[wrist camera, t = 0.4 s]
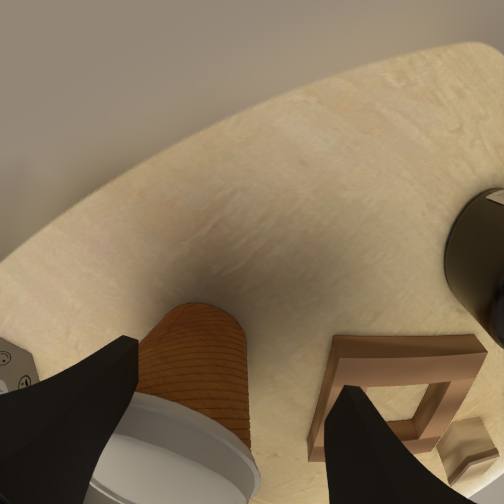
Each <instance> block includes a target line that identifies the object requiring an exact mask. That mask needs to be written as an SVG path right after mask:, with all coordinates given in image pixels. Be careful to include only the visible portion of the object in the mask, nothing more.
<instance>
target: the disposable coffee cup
mask: <svg viewBox="0 0 504 504" xmlns="http://www.w3.org/2000/svg"><path fill="white" fill-rule="evenodd" d="M246 350H247V342H246V338H245V334H244V332H243V330H242V328H241V327H240V325H239V324H238V323H237V321H236V320H234V319H233V318H232V317H231V316H230V315H229V314H227V313H225V312H224V311H222V310H221V309H218V308H216V307H213V306H211V305H207V304H199V303H188V304H185V305H181V306H178V307H176V308H174V309H172V310H171V311H170V312H169V313H167V314H166V315H165V317H164V318H163V319H162V320H161V321H160V322H159V323H158V324H157V325H156V326H155V327H154V328H153V329H152V330H151V332H150V333H149V334H148V335H147V336H146V337H145V338H144V339H143V340H142V341H141V342H140V343H139V382H138V385H137V387H136V390H135V392H134V395H133V397H132V399H131V402H130V404H129V406H128V408H127V409H126V411H125V413H124V415H123V416H122V418H121V420H120V422H119V423H118V425H117V427H116V429H115V430H114V432H113V434H112V436H111V437H110V439H109V441H108V443H107V444H106V446H105V448H104V450H103V452H102V454H101V456H100V458H99V460H98V463H97V465H96V468H95V470H94V473H93V475H92V478H91V481H90V484H91V485H92V486H93V487H95V488H96V489H97V490H99V491H100V492H102V493H103V494H105V495H107V496H108V497H110V498H111V499H113V500H115V501H117V502H119V503H121V504H248V502H249V500H250V498H252V497H253V496H254V495H255V494H256V492H257V491H258V489H259V487H260V478H261V476H260V473H259V471H258V468H257V466H256V463H255V460H254V458H253V456H252V454H251V449H250V448H251V440H250V430H249V429H250V422H249V419H250V417H249V413H248V412H249V397H248V396H249V394H248V371H247V351H246Z"/></svg>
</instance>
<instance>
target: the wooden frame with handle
mask: <svg viewBox="0 0 504 504" xmlns="http://www.w3.org/2000/svg"><path fill="white" fill-rule="evenodd" d="M487 353H488V351H487V350H486V349H485V348H484V346H483V345H482V344H481V343H480V341H479V340H478V339H477V338H476V336H475V335H452V336H414V337H375V336H335V335H334V338H333V343H332V348H331V352H330V356H329V361H328V365H327V369H326V373H325V377H324V381H323V385H322V389H321V393H320V397H319V401H318V404H317V408H316V412H315V415H314V419H313V423H312V426H311V429H310V433H309V436H308V440H307V446H308V462H325V453H324V421H325V419H326V417H327V416H328V414H329V412H330V410H331V408H332V407H333V405H334V403H335V401H336V399H337V397H338V396H339V394H340V392H341V390H342V388H343V386H344V385H352V386H360V387H361V388H362V390H363V391H364V392H366V389H367V387H379V386H401V385H416V384H429V383H430V385H429V387H428V389H427V391H426V393H425V395H424V397H423V399H422V401H421V403H420V405H419V407H418V409H417V411H416V413H415V415H414V416H413V418H412V420H404V421H393V422H386V423H387V424H388V426H389V427H390V428H391V430H392V431H393V432H394V433H395V435H396V436H397V437H398V438H399V440H400V441H401V442H402V443H403V444H404V445H405V447H406V448H407V449H408V450H409V451H410V452H411V453H412V454H418V453H424V452H430V451H431V450H432V449H433V448H434V446H435V445H436V443H437V442H438V440H439V439H440V437H441V436H442V434H443V433H444V431H445V430H446V428H447V427H448V425H449V424H450V422H451V420H452V419H453V417H454V416H455V414H456V412H457V411H458V409H459V407H460V405H461V404H462V402H463V400H464V399H465V397H466V395H467V393H468V391H469V389H470V388H471V386H472V384H473V382H474V380H475V378H476V376H477V374H478V372H479V370H480V368H481V366H482V364H483V362H484V360H485V358H486V356H487Z"/></svg>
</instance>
